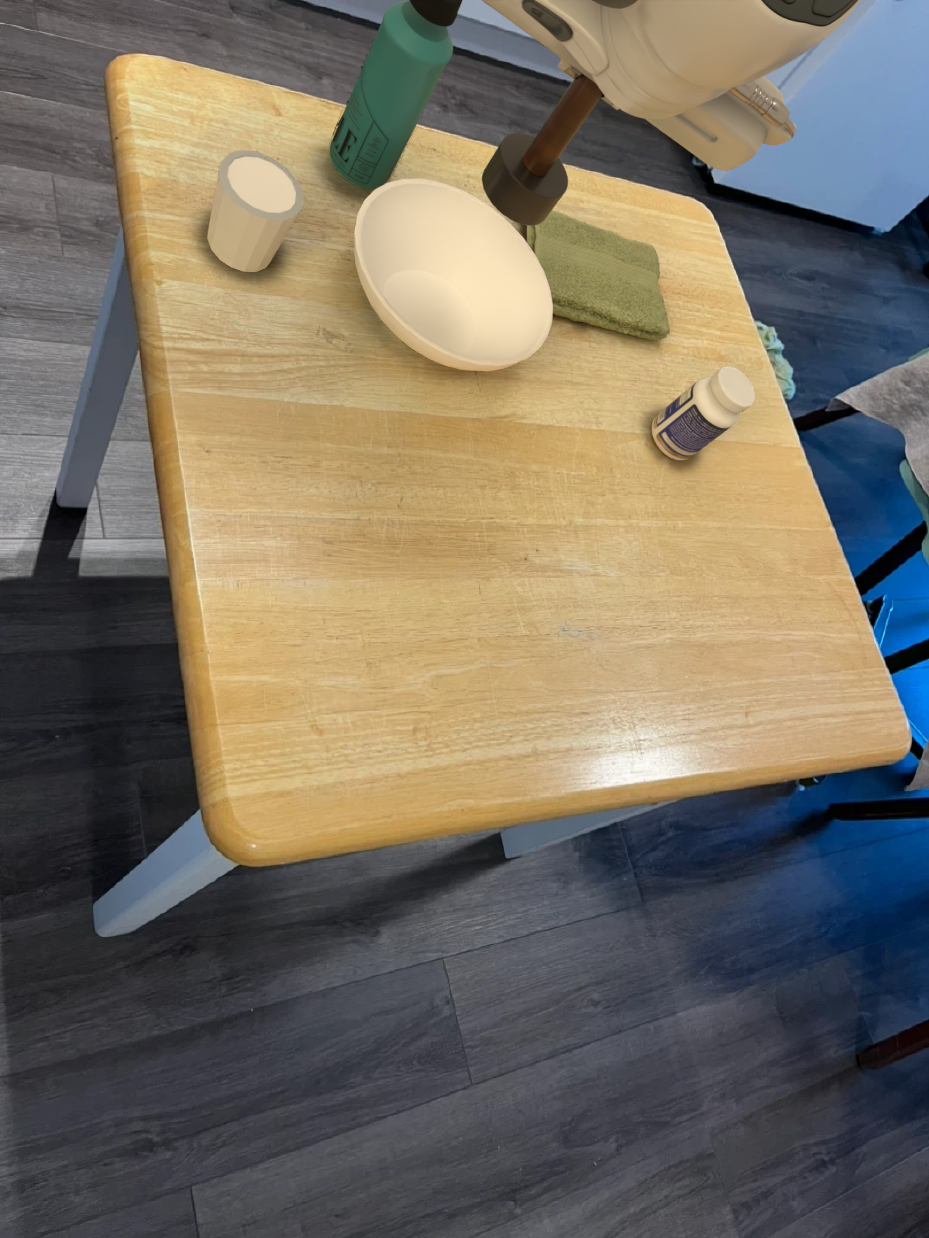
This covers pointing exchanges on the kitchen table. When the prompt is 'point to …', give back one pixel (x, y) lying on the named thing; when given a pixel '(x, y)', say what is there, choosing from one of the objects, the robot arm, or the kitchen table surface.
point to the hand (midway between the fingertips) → (592, 77)
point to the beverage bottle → (392, 90)
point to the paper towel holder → (538, 159)
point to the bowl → (451, 276)
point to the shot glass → (252, 209)
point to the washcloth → (600, 276)
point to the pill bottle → (702, 413)
